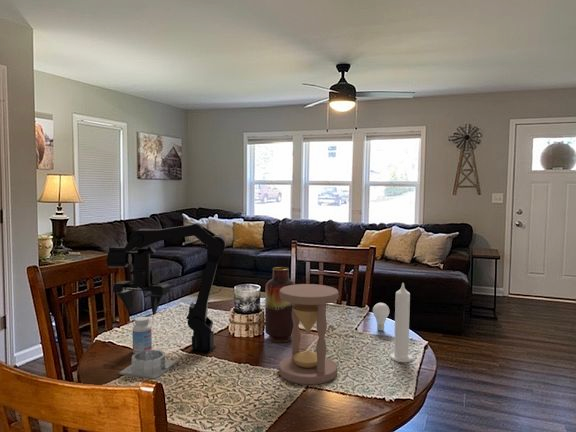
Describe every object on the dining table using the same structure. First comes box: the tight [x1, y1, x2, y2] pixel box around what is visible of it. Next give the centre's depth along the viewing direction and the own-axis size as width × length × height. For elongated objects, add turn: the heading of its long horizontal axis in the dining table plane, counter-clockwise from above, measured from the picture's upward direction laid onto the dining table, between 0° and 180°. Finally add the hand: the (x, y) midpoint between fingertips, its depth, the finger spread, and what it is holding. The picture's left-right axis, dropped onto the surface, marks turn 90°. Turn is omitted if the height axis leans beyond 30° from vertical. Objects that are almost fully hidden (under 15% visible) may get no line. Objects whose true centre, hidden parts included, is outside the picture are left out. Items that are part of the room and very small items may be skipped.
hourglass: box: [278, 283, 340, 386], centre depth 133 cm, size 18×18×25 cm
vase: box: [264, 266, 296, 344], centre depth 162 cm, size 11×11×26 cm
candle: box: [389, 282, 413, 363], centre depth 144 cm, size 7×7×25 cm
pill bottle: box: [132, 316, 153, 354], centre depth 149 cm, size 6×6×11 cm
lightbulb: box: [372, 302, 390, 332], centre depth 173 cm, size 6×6×11 cm
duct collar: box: [118, 349, 177, 380], centre depth 135 cm, size 12×12×4 cm
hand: (142, 313), depth 149 cm, fingers open, 9 cm apart
